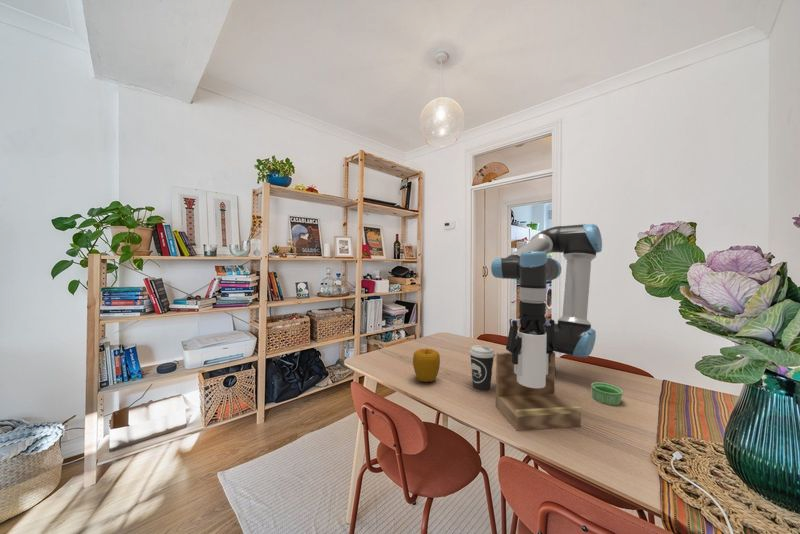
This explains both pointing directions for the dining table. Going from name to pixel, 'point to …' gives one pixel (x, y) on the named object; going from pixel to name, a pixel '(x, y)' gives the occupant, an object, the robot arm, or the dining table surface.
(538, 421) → the shelf
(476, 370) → the coffee cup
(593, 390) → the ramekin
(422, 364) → the apple
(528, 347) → the cup
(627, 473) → the dining table surface
